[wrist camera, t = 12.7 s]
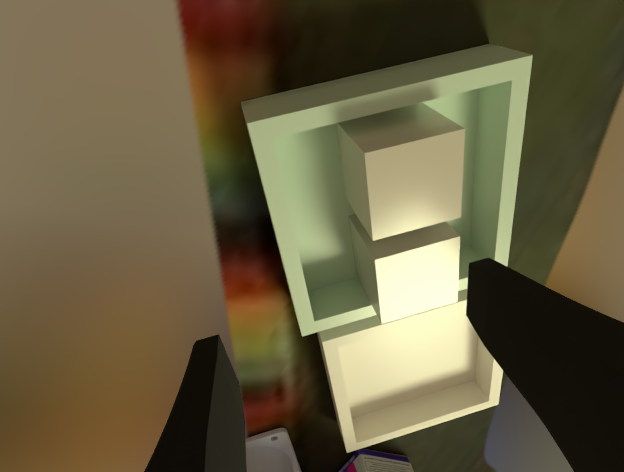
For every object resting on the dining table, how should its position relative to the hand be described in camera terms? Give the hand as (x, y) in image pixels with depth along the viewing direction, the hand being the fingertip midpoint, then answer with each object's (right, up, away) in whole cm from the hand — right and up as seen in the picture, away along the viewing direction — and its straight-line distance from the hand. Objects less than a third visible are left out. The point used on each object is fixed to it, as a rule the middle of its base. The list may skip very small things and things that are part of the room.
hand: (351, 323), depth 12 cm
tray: (+5, -5, +17) cm, 19 cm away
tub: (+2, +5, +10) cm, 12 cm away
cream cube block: (+3, +2, +11) cm, 12 cm away
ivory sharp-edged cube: (+2, +6, +8) cm, 11 cm away
